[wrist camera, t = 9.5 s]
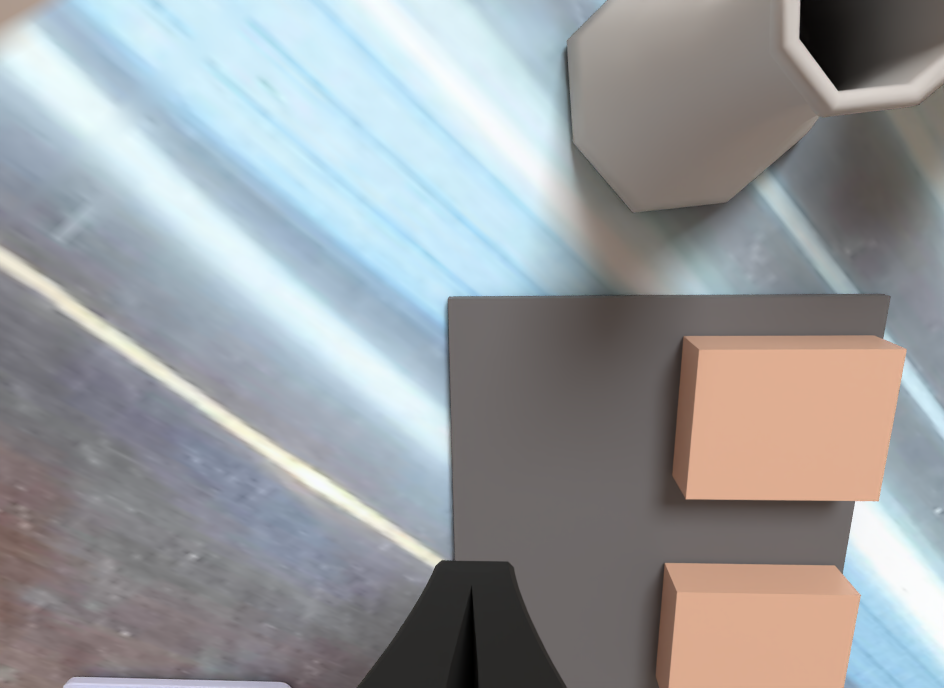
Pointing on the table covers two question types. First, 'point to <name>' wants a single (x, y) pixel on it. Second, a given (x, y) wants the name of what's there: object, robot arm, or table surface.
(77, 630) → the table surface
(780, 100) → the flask
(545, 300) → the mat
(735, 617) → the tile
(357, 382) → the table surface
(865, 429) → the tile
